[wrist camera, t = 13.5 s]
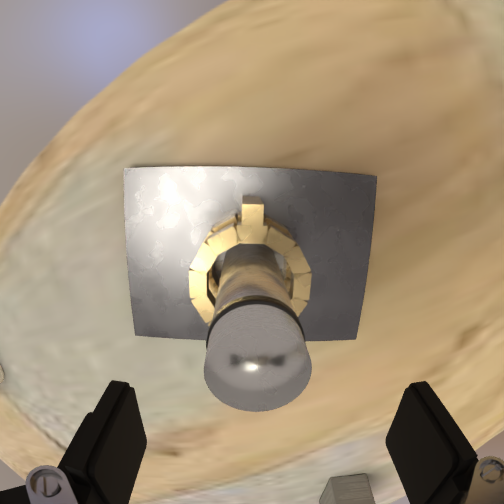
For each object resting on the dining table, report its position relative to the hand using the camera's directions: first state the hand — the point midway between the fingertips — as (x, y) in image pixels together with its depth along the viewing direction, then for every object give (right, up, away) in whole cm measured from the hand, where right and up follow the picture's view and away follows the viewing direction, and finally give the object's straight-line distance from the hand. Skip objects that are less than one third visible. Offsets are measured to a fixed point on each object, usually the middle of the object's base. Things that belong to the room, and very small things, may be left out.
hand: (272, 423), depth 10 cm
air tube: (-1, +5, +18) cm, 19 cm away
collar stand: (-1, +5, +20) cm, 20 cm away
